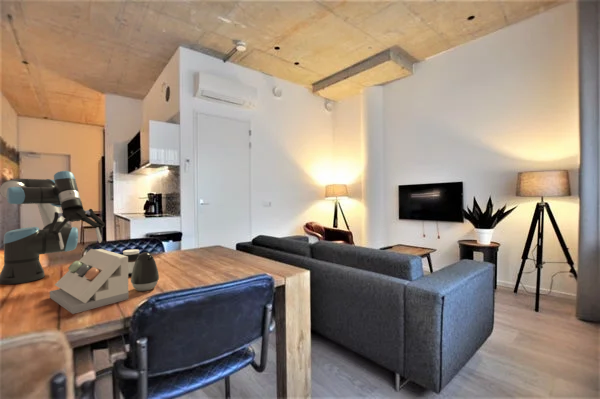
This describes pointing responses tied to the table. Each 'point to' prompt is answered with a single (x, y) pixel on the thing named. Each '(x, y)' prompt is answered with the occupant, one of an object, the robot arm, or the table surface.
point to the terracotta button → (92, 273)
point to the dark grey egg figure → (144, 273)
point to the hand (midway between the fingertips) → (82, 244)
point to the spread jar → (131, 259)
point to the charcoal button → (83, 269)
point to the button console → (94, 283)
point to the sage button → (75, 266)
